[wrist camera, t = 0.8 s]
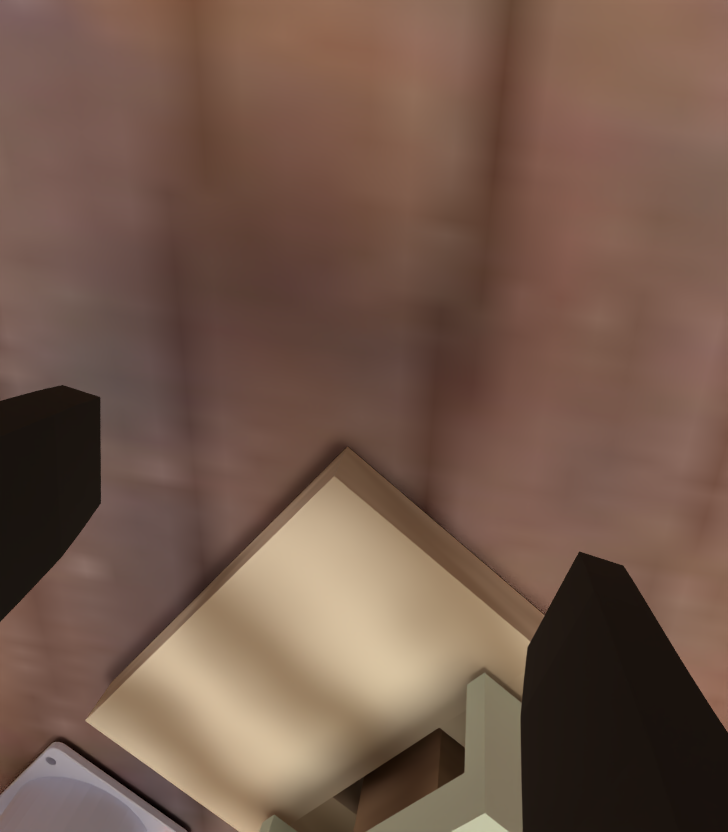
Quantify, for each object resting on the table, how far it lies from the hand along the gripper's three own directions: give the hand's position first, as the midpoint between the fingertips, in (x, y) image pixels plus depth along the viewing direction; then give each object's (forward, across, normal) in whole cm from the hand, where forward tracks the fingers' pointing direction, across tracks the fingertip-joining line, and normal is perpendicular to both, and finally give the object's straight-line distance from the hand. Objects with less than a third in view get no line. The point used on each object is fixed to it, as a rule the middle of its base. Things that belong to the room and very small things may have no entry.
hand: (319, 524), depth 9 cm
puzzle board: (+9, -7, +18) cm, 21 cm away
